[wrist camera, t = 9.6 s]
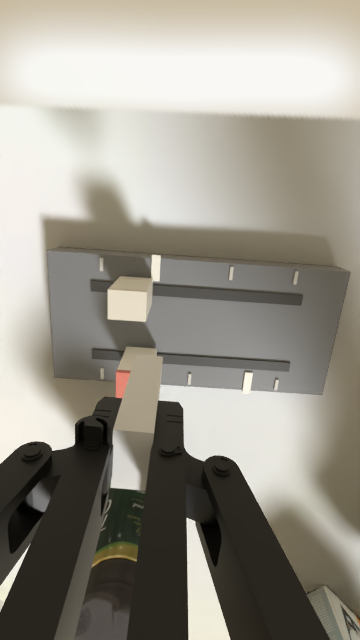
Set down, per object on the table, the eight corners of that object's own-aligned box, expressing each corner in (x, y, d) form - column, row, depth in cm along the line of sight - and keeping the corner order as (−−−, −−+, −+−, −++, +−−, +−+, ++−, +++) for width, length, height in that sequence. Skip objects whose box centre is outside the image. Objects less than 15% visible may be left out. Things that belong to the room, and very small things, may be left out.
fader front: (153, 278, 30) (146, 292, 25) (151, 303, 31) (145, 321, 26) (120, 276, 30) (107, 289, 25) (120, 301, 31) (107, 319, 26)
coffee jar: (136, 424, 39) (99, 596, 22) (188, 457, 41) (193, 643, 23) (93, 475, 42) (28, 667, 24) (144, 504, 43) (117, 705, 26)
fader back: (156, 348, 33) (151, 374, 27) (155, 370, 33) (150, 399, 28) (126, 346, 33) (115, 372, 27) (126, 368, 33) (115, 397, 28)
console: (336, 263, 33) (352, 269, 30) (310, 383, 38) (322, 398, 34) (58, 244, 33) (45, 247, 30) (64, 367, 37) (53, 381, 34)
